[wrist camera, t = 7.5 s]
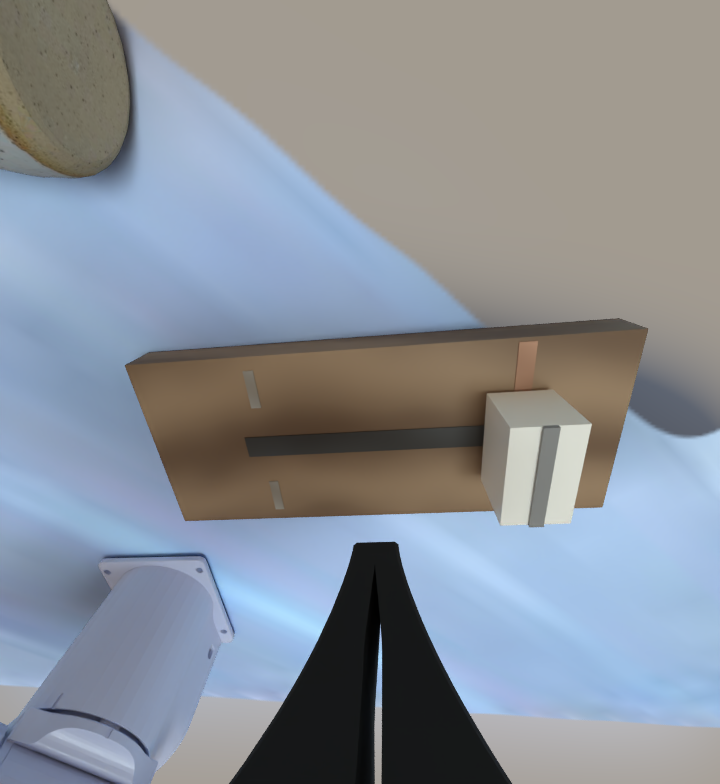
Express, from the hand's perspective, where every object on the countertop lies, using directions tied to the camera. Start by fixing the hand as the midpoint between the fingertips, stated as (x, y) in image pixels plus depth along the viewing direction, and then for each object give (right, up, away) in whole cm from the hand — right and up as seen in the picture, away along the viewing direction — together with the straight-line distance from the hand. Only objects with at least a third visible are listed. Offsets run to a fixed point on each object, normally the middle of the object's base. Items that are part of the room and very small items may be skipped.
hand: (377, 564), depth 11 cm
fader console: (0, +4, +9) cm, 9 cm away
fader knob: (+7, +3, +6) cm, 10 cm away
